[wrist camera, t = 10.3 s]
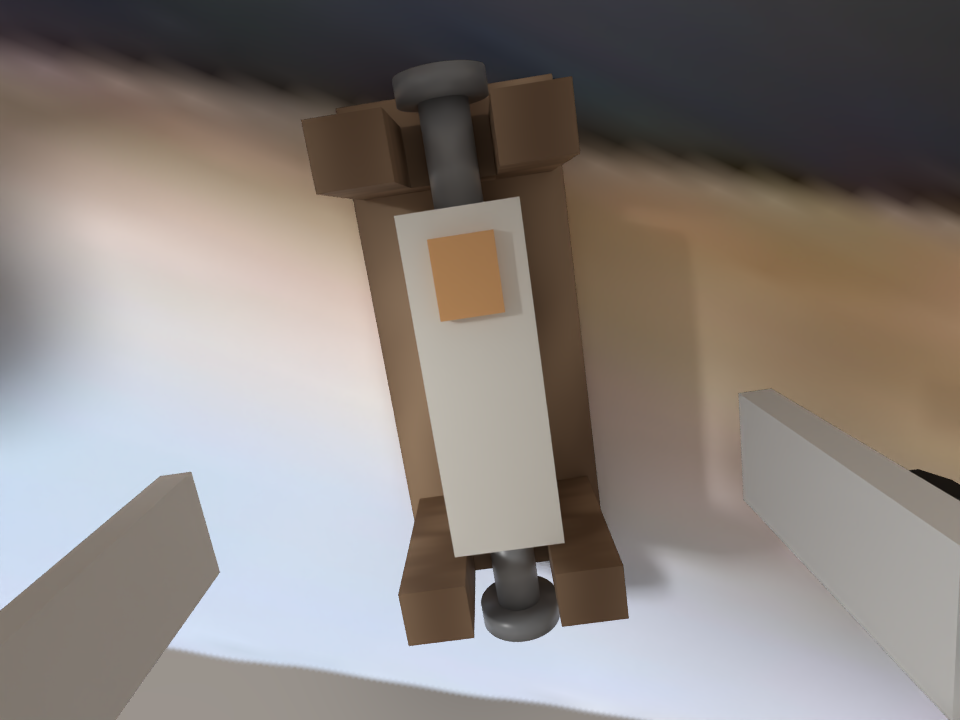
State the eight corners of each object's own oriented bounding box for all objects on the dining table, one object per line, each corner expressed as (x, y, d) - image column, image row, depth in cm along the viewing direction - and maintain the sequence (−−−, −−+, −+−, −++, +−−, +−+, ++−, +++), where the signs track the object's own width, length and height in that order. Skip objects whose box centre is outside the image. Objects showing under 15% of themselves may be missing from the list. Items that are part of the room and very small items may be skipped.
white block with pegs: (474, 584, 32) (472, 669, 26) (391, 98, 26) (363, 64, 20) (562, 572, 31) (580, 655, 25) (496, 81, 26) (500, 41, 20)
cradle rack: (424, 563, 34) (404, 684, 25) (338, 110, 28) (274, 64, 20) (602, 539, 33) (644, 654, 25) (550, 76, 28) (581, 13, 19)
